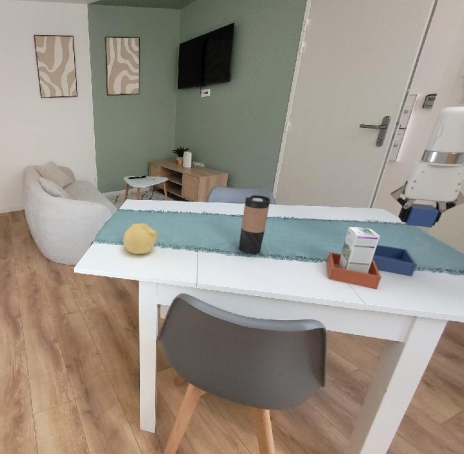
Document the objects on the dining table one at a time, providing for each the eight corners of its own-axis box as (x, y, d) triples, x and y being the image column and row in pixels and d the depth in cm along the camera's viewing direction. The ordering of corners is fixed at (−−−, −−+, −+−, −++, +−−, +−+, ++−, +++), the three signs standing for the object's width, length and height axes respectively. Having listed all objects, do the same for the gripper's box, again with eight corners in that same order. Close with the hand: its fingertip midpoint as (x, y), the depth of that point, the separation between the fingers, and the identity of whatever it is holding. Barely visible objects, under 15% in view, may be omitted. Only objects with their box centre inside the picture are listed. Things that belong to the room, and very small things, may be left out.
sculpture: (161, 251, 110) (162, 224, 106) (137, 261, 104) (137, 233, 100) (141, 241, 119) (141, 216, 115) (118, 249, 113) (117, 224, 109)
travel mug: (262, 255, 103) (272, 202, 96) (238, 253, 106) (246, 201, 98) (259, 246, 110) (268, 195, 102) (237, 244, 113) (244, 194, 105)
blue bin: (402, 259, 97) (406, 249, 95) (412, 276, 88) (416, 264, 86) (359, 252, 102) (362, 242, 101) (364, 267, 94) (368, 256, 92)
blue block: (425, 221, 83) (432, 205, 81) (431, 227, 79) (439, 210, 77) (401, 218, 86) (407, 202, 84) (406, 224, 82) (413, 208, 80)
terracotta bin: (370, 270, 92) (374, 259, 90) (376, 289, 83) (381, 277, 82) (326, 262, 97) (329, 251, 96) (328, 278, 89) (332, 267, 87)
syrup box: (366, 279, 87) (382, 235, 81) (342, 276, 88) (356, 233, 83) (358, 269, 92) (372, 227, 86) (335, 267, 93) (348, 226, 88)
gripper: (484, 157, 74) (453, 222, 81) (394, 154, 82) (374, 213, 90) (500, 162, 68) (466, 232, 75) (402, 158, 77) (379, 222, 84)
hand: (416, 221), depth 82 cm, fingers closed on blue block, 5 cm apart
